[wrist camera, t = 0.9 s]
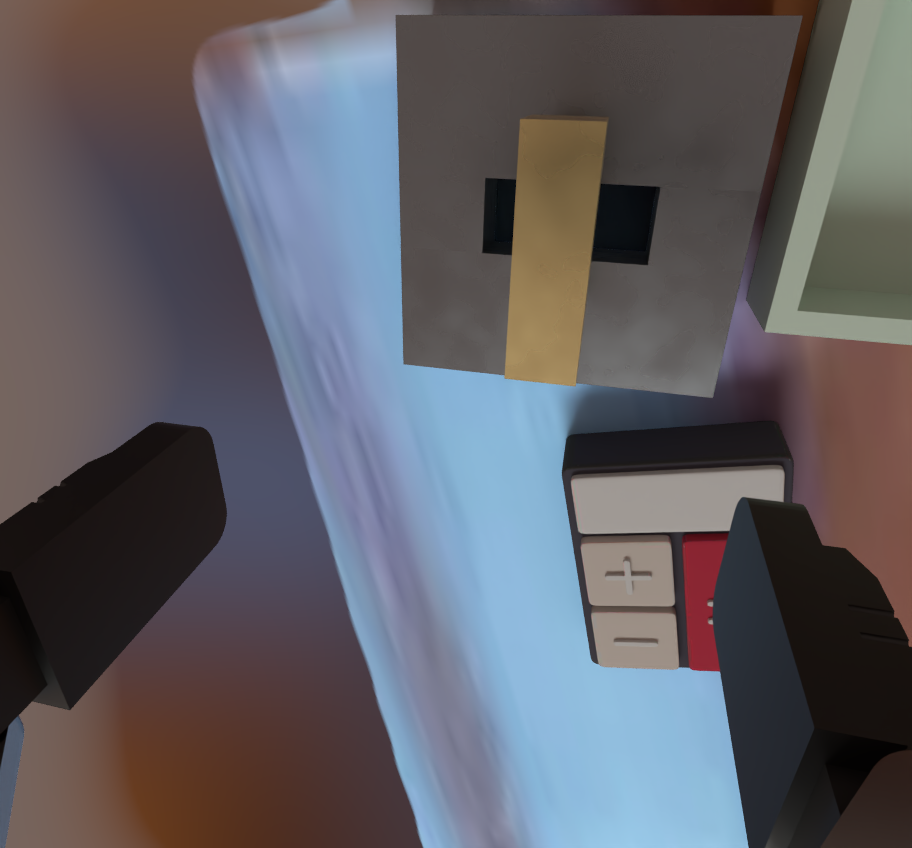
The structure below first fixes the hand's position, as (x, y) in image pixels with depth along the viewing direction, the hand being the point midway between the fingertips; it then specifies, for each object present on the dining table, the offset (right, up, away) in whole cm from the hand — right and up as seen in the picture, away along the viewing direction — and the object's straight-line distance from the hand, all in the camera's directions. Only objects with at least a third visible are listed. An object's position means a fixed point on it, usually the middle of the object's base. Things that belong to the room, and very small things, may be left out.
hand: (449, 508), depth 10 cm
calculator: (+13, -5, +28) cm, 32 cm away
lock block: (+6, +12, +20) cm, 24 cm away
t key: (+6, +12, +20) cm, 24 cm away
